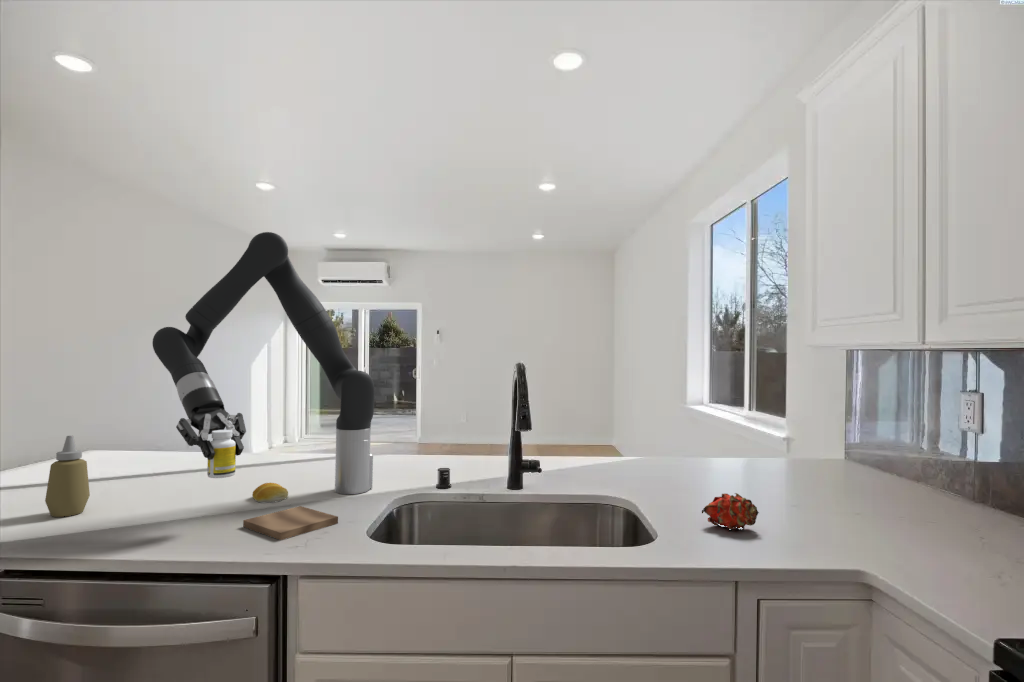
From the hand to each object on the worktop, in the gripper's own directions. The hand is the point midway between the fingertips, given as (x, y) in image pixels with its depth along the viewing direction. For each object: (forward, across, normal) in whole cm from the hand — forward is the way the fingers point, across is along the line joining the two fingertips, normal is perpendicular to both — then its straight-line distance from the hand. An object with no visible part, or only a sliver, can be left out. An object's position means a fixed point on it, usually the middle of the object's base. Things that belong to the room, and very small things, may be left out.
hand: (226, 455), depth 119 cm
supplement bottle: (+2, 0, +5) cm, 5 cm away
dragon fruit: (+74, +67, -50) cm, 112 cm away
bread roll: (+1, +19, +22) cm, 30 cm away
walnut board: (+18, +10, +5) cm, 21 cm away
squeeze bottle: (-16, -16, +38) cm, 45 cm away
